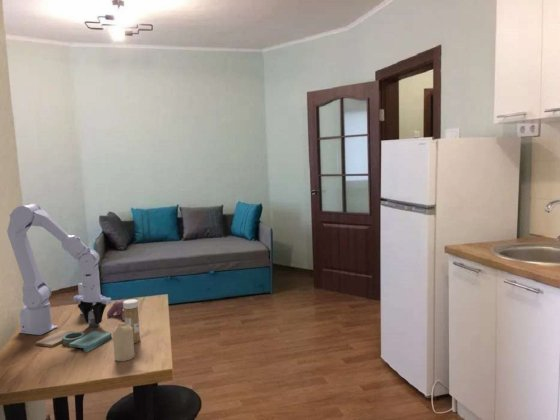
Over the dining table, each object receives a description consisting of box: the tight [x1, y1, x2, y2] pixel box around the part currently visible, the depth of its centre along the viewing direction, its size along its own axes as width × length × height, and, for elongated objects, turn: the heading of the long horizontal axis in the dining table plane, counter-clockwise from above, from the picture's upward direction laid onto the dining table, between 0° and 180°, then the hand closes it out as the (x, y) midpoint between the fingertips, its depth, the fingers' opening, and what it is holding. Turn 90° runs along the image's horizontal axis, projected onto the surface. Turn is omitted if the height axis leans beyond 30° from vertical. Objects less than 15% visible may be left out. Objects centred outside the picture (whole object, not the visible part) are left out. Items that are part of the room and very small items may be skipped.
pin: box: [87, 309, 101, 329], centre depth 162 cm, size 4×4×6 cm
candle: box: [112, 322, 135, 362], centre depth 136 cm, size 6×6×10 cm
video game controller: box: [106, 300, 125, 321], centre depth 172 cm, size 10×5×7 cm, turn 58°
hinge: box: [34, 329, 113, 353], centre depth 149 cm, size 21×11×2 cm, turn 72°
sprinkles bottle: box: [123, 298, 141, 344], centre depth 147 cm, size 5×5×14 cm
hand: (93, 322), depth 163 cm, fingers closed on pin, 4 cm apart
